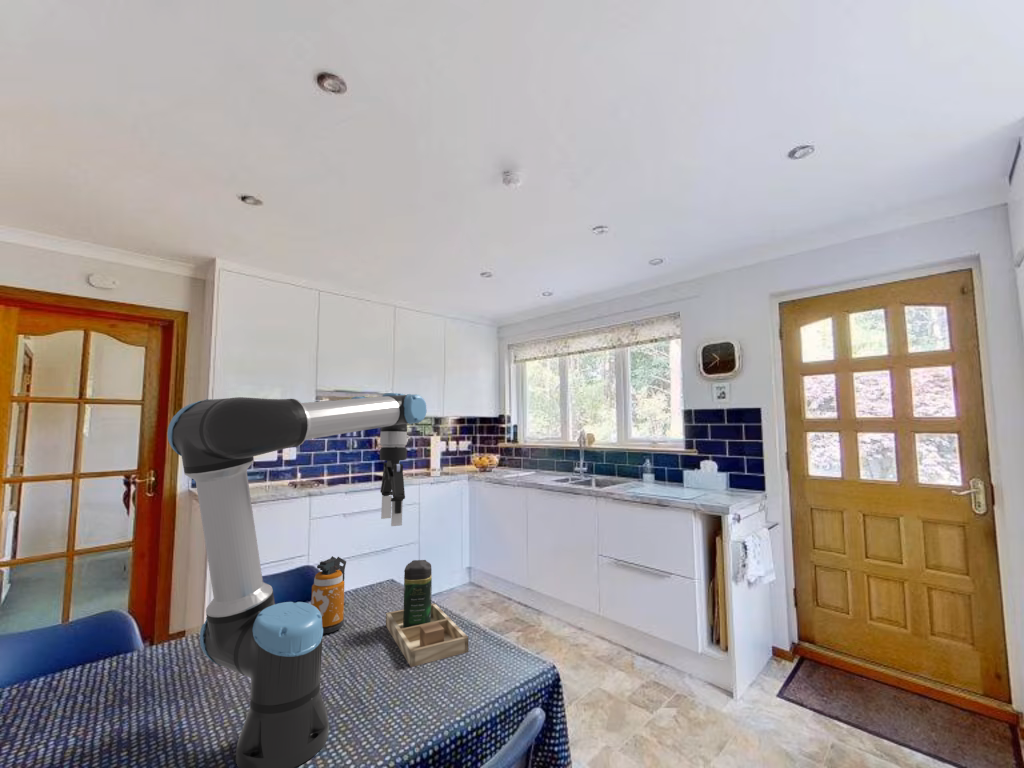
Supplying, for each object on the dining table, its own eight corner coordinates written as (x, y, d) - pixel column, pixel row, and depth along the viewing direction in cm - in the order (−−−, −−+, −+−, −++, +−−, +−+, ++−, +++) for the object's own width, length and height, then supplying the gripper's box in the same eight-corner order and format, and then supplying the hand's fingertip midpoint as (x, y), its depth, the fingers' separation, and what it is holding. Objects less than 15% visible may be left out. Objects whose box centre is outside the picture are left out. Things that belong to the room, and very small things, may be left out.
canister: (303, 634, 127) (305, 561, 129) (329, 618, 137) (331, 552, 140) (329, 637, 124) (331, 564, 127) (354, 621, 135) (355, 553, 137)
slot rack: (468, 655, 113) (468, 637, 114) (410, 670, 106) (411, 651, 107) (434, 617, 137) (434, 603, 137) (385, 628, 130) (386, 612, 130)
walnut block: (444, 649, 115) (444, 628, 116) (425, 653, 113) (425, 633, 113) (437, 641, 119) (437, 621, 120) (419, 645, 117) (419, 625, 118)
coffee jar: (430, 635, 123) (431, 566, 125) (401, 637, 122) (402, 567, 124) (431, 621, 133) (432, 557, 135) (404, 623, 131) (405, 558, 134)
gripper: (417, 446, 119) (415, 527, 116) (396, 446, 141) (394, 514, 138) (389, 446, 116) (386, 530, 113) (372, 446, 138) (369, 516, 135)
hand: (391, 521), depth 126 cm, fingers open, 13 cm apart
